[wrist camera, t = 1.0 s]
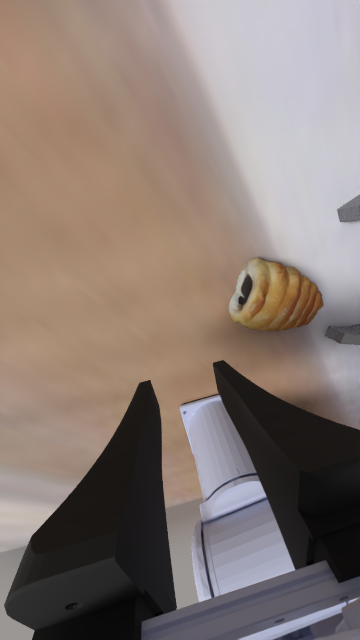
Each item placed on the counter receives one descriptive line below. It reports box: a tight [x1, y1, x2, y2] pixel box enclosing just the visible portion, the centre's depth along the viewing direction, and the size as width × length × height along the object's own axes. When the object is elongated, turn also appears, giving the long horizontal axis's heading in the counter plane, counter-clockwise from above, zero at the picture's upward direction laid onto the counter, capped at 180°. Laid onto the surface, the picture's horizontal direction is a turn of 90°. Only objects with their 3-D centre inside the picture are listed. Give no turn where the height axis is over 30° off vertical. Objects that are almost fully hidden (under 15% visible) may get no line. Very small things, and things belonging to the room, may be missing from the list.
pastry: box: [229, 258, 323, 331], centre depth 19 cm, size 9×7×4 cm
